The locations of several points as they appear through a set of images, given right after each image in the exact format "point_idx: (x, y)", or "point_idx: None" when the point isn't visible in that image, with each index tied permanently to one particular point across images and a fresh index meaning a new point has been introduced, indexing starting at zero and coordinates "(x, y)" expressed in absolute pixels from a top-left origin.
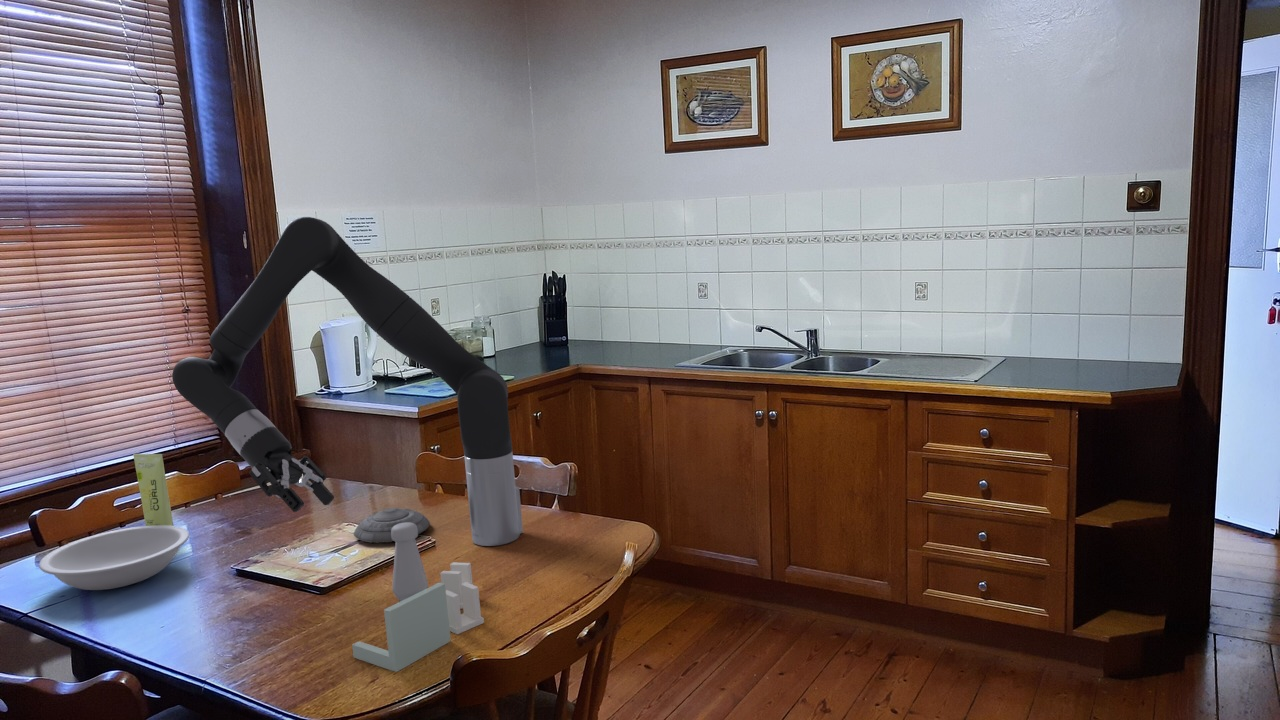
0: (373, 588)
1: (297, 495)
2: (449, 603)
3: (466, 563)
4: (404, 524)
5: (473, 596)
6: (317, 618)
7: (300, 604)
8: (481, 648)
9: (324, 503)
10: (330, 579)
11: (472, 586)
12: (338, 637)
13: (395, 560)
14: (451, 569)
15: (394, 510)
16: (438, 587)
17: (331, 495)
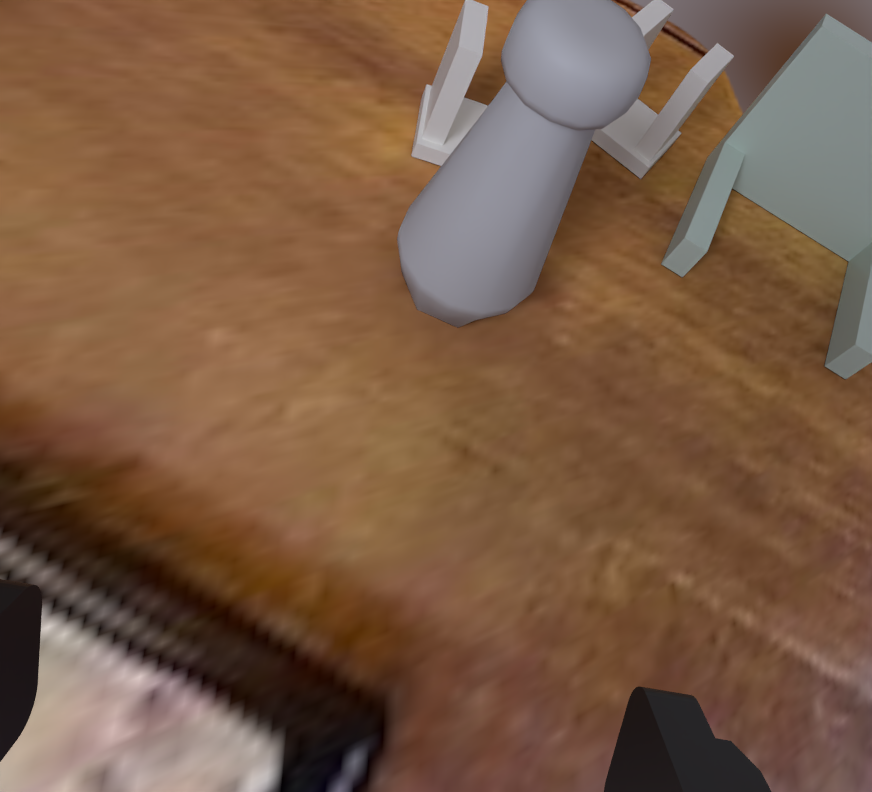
0: (327, 462)
1: (686, 777)
2: (707, 88)
3: (470, 9)
4: (590, 17)
5: (659, 31)
6: (637, 613)
7: (509, 785)
8: (724, 97)
9: (15, 724)
10: (162, 769)
11: (656, 8)
12: (754, 466)
13: (555, 202)
14: (475, 69)
15: None
16: (849, 30)
17: (10, 587)
